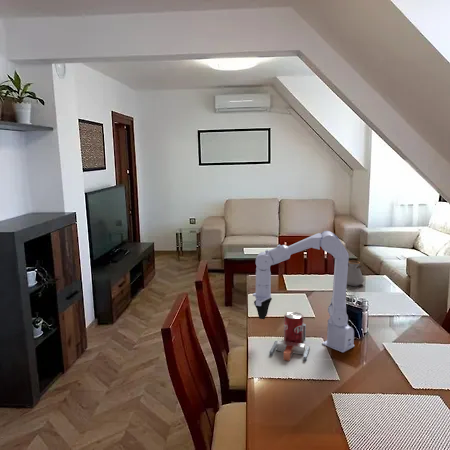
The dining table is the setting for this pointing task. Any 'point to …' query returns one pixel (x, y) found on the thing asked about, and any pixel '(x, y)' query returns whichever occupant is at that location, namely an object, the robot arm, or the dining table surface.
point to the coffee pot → (354, 274)
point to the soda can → (293, 327)
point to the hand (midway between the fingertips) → (262, 317)
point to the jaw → (290, 348)
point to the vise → (303, 339)
